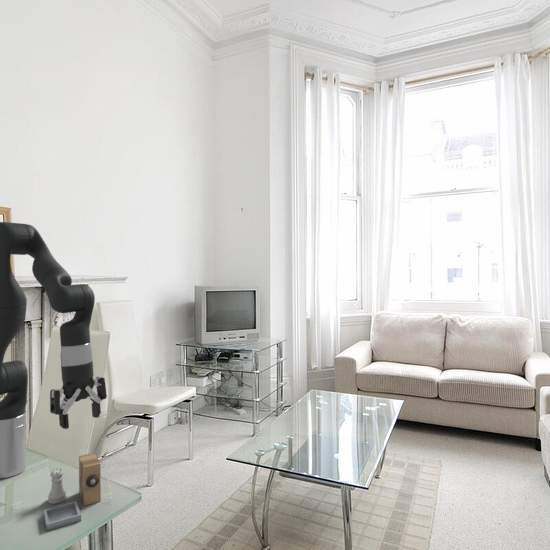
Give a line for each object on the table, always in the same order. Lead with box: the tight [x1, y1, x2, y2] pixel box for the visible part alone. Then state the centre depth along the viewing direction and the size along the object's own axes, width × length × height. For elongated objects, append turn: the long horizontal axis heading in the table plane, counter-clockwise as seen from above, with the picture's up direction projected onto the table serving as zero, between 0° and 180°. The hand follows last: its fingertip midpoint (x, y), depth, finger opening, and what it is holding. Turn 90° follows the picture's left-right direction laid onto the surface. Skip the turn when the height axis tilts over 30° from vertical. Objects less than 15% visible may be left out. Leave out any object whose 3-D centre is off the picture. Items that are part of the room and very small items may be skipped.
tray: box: [43, 500, 82, 532], centre depth 105 cm, size 7×7×2 cm
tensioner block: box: [78, 452, 102, 507], centre depth 114 cm, size 9×4×10 cm, turn 33°
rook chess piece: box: [47, 467, 67, 505], centre depth 113 cm, size 4×4×8 cm
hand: (81, 422), depth 112 cm, fingers open, 8 cm apart
